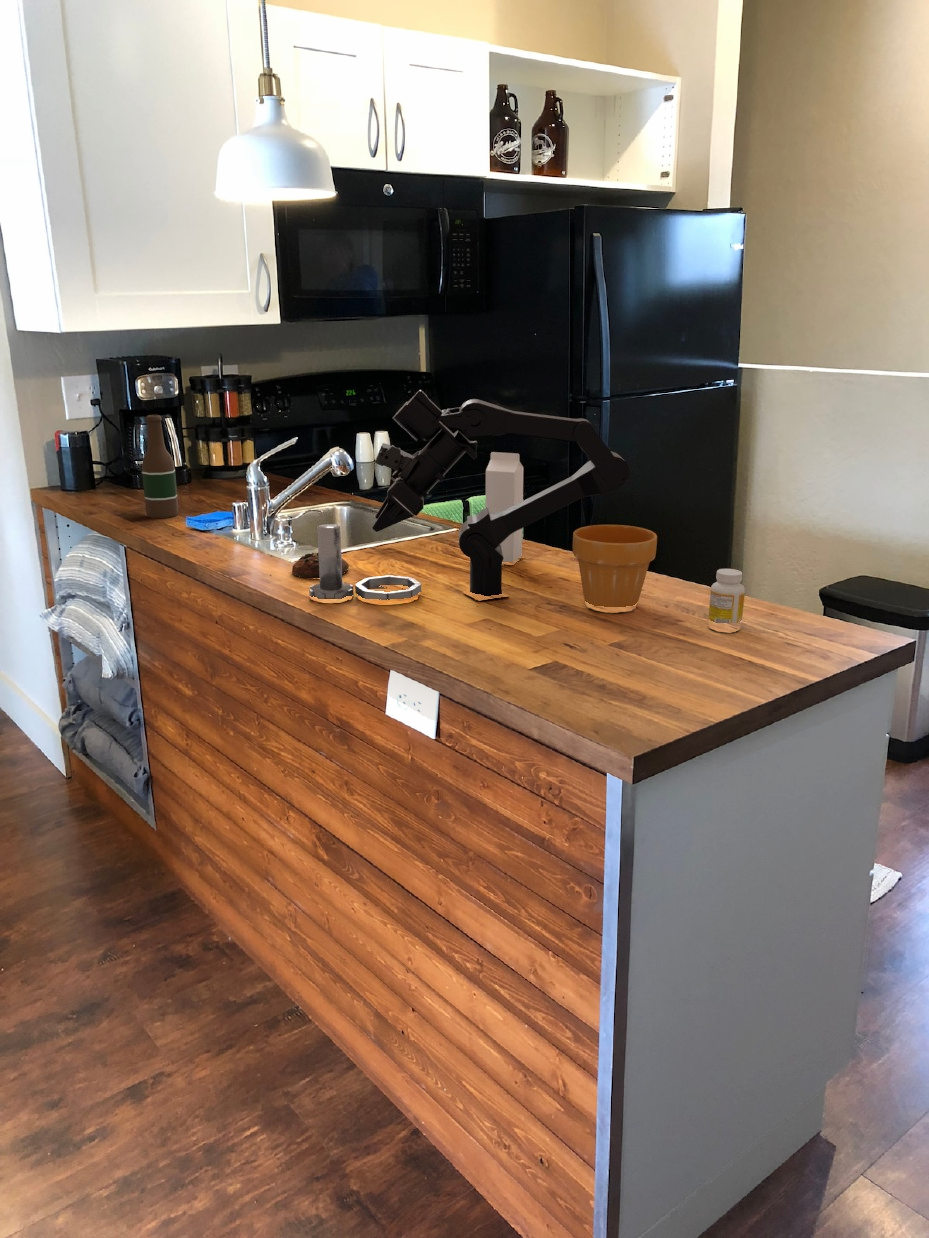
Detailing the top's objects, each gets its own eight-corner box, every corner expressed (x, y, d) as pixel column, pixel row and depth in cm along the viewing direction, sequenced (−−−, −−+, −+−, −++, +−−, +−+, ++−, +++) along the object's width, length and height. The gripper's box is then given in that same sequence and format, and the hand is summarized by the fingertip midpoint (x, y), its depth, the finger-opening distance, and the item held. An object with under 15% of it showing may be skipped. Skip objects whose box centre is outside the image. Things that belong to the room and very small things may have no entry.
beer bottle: (139, 517, 243) (129, 416, 236) (157, 511, 250) (148, 413, 243) (167, 519, 241) (158, 418, 234) (185, 513, 248) (177, 414, 241)
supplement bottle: (718, 635, 161) (723, 577, 158) (701, 625, 166) (705, 568, 163) (748, 632, 163) (753, 574, 160) (730, 622, 167) (735, 566, 164)
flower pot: (656, 598, 180) (660, 527, 176) (648, 622, 167) (653, 546, 163) (577, 592, 184) (580, 522, 180) (564, 615, 171) (566, 540, 167)
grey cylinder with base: (359, 601, 178) (357, 529, 174) (317, 606, 175) (313, 533, 171) (345, 589, 185) (342, 520, 181) (304, 595, 182) (300, 524, 178)
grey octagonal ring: (429, 600, 179) (429, 588, 178) (369, 608, 174) (369, 596, 173) (405, 584, 188) (405, 573, 187) (348, 592, 184) (348, 579, 183)
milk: (513, 566, 201) (515, 456, 194) (484, 563, 203) (485, 454, 196) (521, 559, 206) (524, 451, 199) (493, 556, 208) (495, 449, 201)
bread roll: (310, 583, 189) (308, 556, 188) (281, 578, 198) (279, 553, 197) (360, 575, 196) (358, 549, 195) (330, 571, 205) (328, 547, 204)
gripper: (403, 420, 181) (345, 484, 184) (399, 433, 163) (335, 503, 166) (448, 463, 183) (391, 524, 187) (450, 480, 166) (386, 548, 169)
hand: (375, 524), depth 177 cm, fingers open, 9 cm apart
